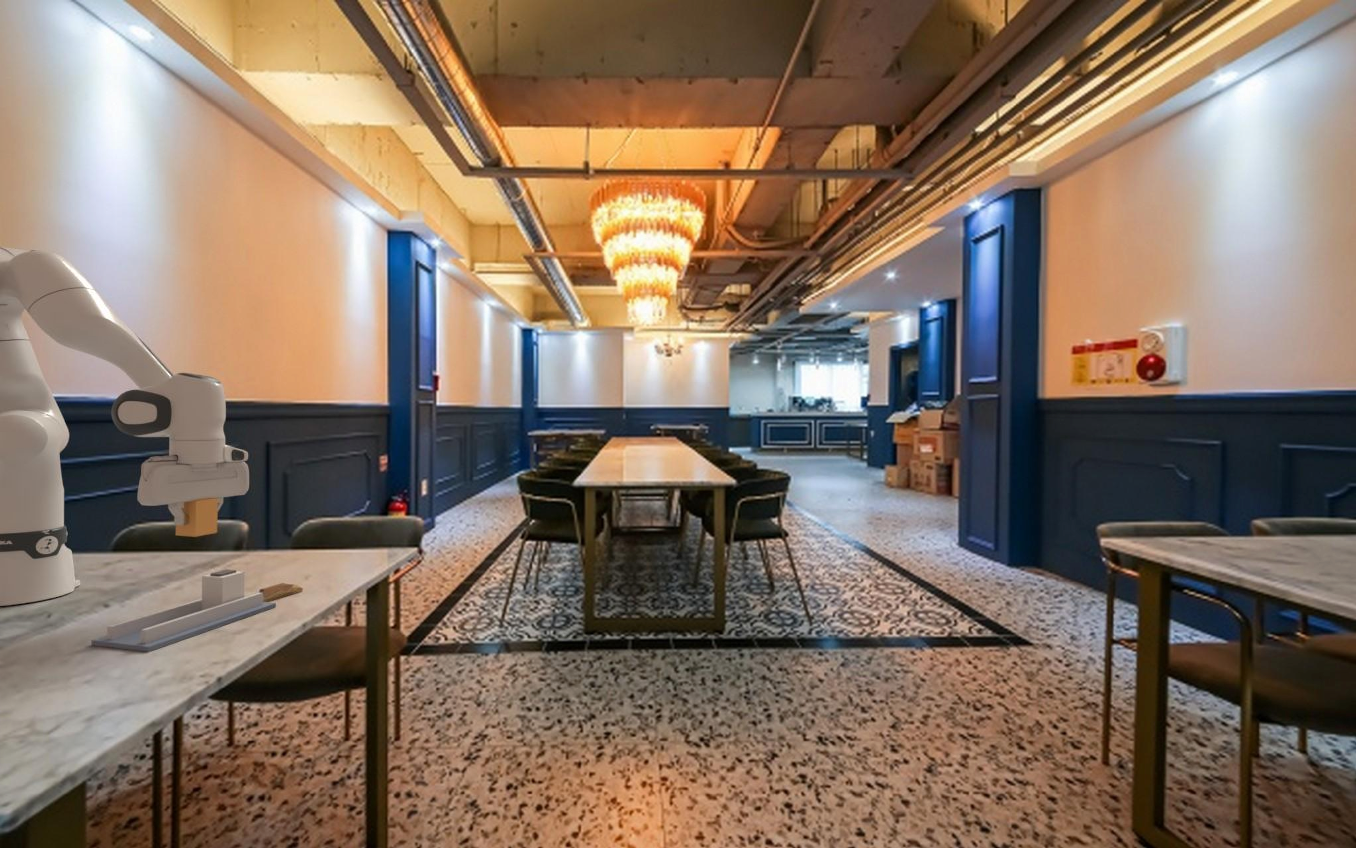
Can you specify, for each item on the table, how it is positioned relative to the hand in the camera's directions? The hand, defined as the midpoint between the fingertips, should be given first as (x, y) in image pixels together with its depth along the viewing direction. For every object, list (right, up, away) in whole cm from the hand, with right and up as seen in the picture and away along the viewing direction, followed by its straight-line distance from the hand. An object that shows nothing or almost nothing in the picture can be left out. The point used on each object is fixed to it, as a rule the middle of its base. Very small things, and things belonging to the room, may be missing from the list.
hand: (196, 522), depth 121 cm
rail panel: (+8, -17, -11) cm, 21 cm away
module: (0, -2, 0) cm, 2 cm away
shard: (+12, -18, +8) cm, 23 cm away
